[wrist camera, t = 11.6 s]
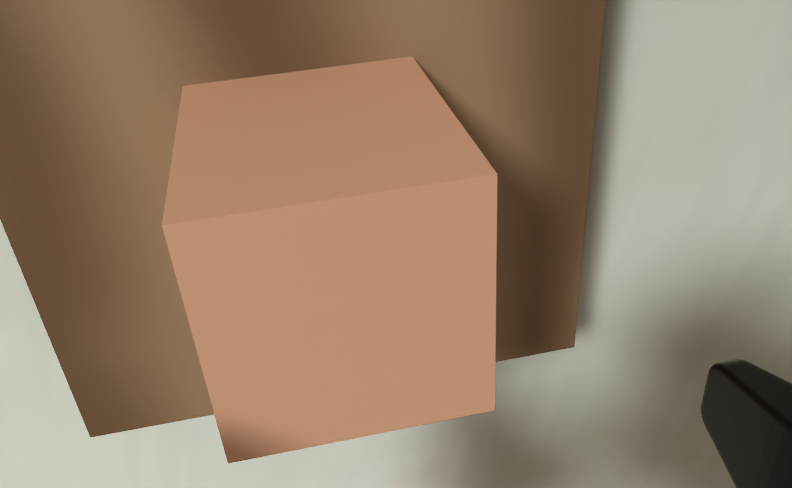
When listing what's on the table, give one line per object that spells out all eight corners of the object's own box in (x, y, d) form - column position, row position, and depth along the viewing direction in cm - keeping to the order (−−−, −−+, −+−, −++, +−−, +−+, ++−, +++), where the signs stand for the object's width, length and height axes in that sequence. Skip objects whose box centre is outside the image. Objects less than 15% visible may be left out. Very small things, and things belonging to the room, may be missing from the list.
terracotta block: (412, 56, 16) (497, 174, 11) (422, 246, 19) (494, 410, 14) (182, 86, 15) (161, 225, 10) (227, 278, 18) (228, 462, 13)
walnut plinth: (547, -201, 17) (623, -201, 14) (527, 273, 25) (574, 347, 22) (-68, -152, 16) (-148, -140, 12) (110, 344, 23) (90, 437, 20)
